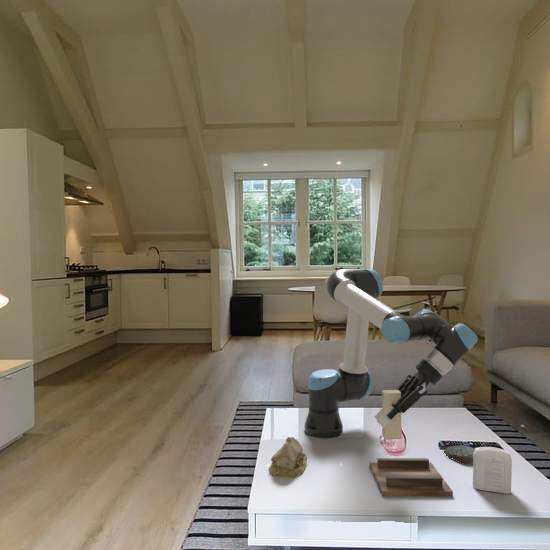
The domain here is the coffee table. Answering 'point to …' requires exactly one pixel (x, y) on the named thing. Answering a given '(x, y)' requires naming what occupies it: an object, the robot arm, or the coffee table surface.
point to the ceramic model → (289, 459)
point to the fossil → (460, 453)
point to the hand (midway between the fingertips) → (379, 422)
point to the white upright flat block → (492, 470)
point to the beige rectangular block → (394, 425)
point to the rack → (408, 477)
